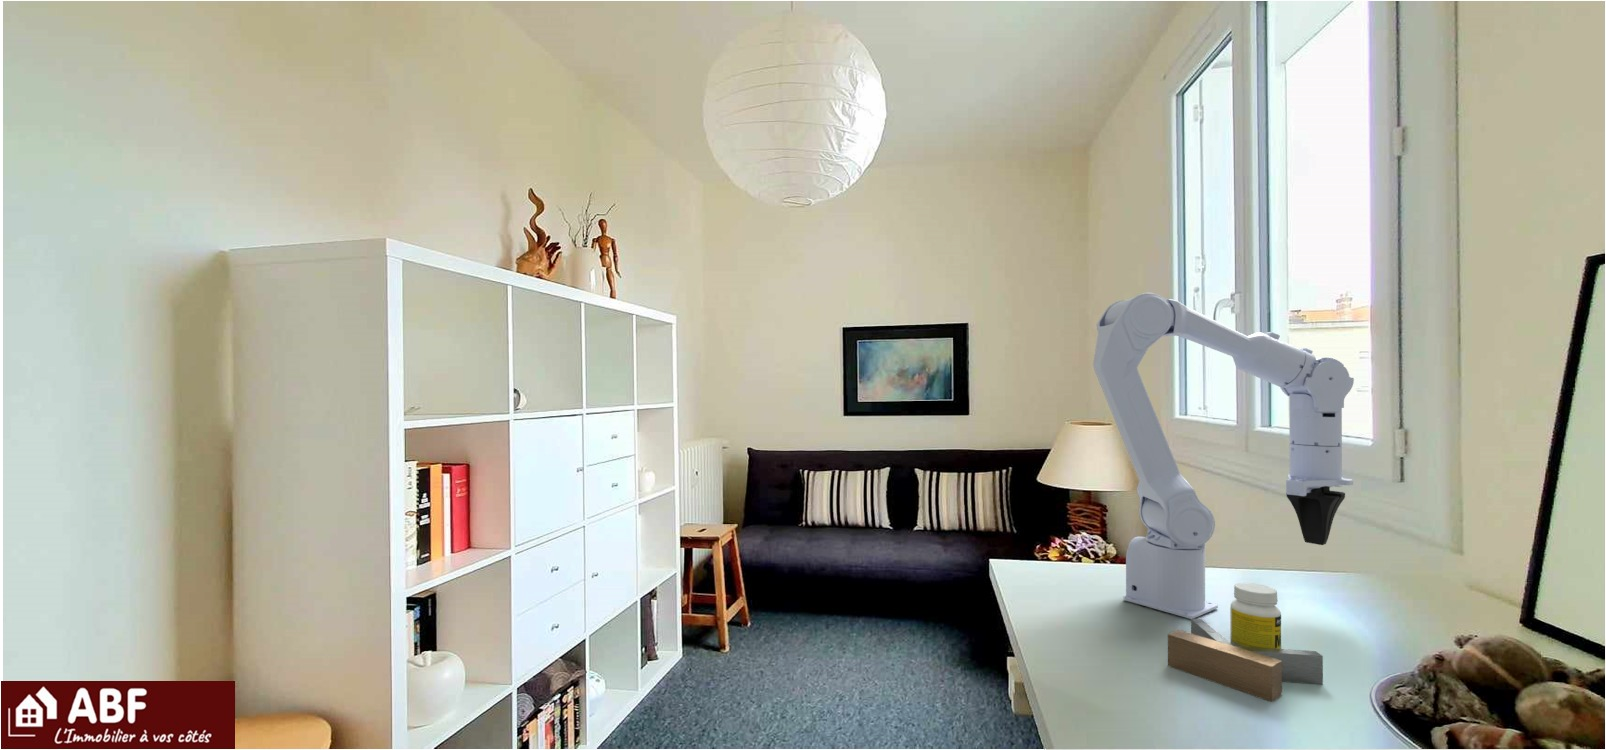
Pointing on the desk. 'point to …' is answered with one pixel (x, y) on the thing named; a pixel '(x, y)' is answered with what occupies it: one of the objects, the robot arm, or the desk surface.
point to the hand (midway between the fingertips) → (1315, 543)
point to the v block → (1241, 662)
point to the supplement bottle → (1255, 617)
